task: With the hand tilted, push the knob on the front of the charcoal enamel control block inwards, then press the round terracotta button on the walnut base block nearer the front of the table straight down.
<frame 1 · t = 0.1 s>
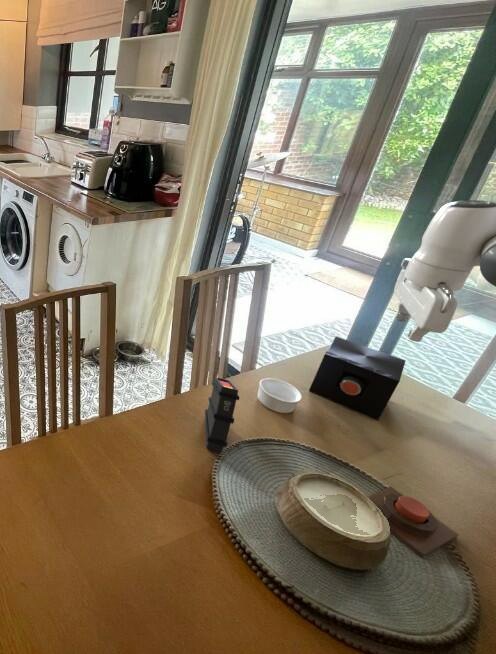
hand: (406, 329, 93), 23 cm above the table, tool pointing down, fingers open, 8 cm apart
push knob: (351, 385, 100), point 7 cm above the table, slide at 0.1 cm
start button: (411, 509, 73), point 5 cm above the table, slide at 0.1 cm
button block: (399, 527, 75), on the table
black battery pack: (212, 432, 95), on the table
console: (346, 394, 107), on the table
ramekin: (274, 403, 104), on the table
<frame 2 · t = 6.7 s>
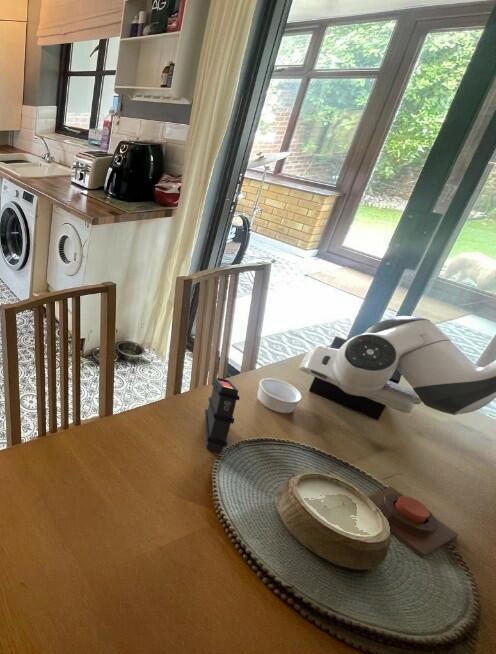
hand: (350, 389, 99), 7 cm above the table, tool tilted 45°, fingers closed, pressing on push knob
push knob: (351, 385, 100), point 7 cm above the table, slide at 0.0 cm, touching gripper
everything else where it was.
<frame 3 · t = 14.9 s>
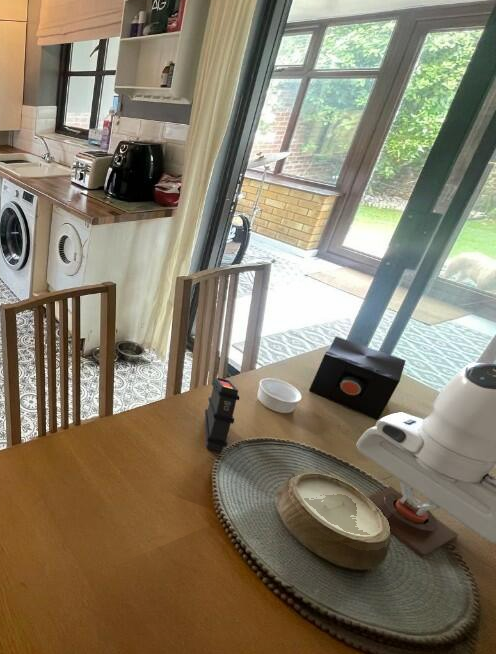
hand: (411, 508, 73), 5 cm above the table, tool pointing down, fingers closed, pressing on start button
push knob: (351, 385, 100), point 7 cm above the table, slide at 0.1 cm
start button: (410, 511, 73), point 4 cm above the table, slide at -0.5 cm, touching gripper
everything else where it was.
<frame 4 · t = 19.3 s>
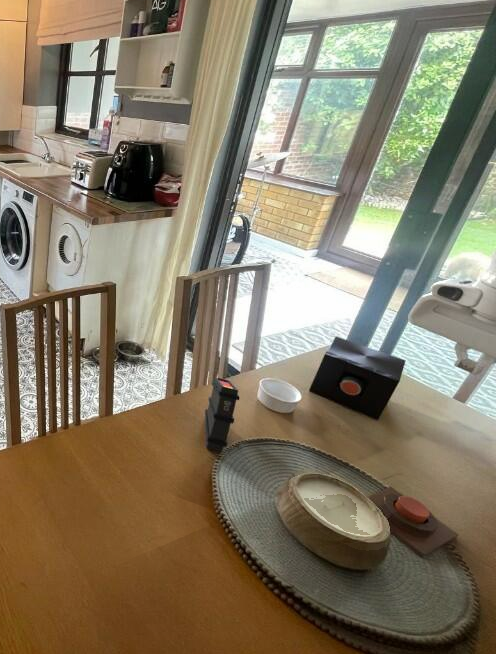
hand: (466, 369, 74), 27 cm above the table, tool pointing down, fingers closed
start button: (411, 509, 73), point 5 cm above the table, slide at 0.1 cm
everything else where it was.
at the end: push knob pushed in 1.1 cm at the most during the clip, back to where it started at the end; start button pushed in 1.0 cm at the most during the clip, back to where it started at the end; start button slide at 0.1 cm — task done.
